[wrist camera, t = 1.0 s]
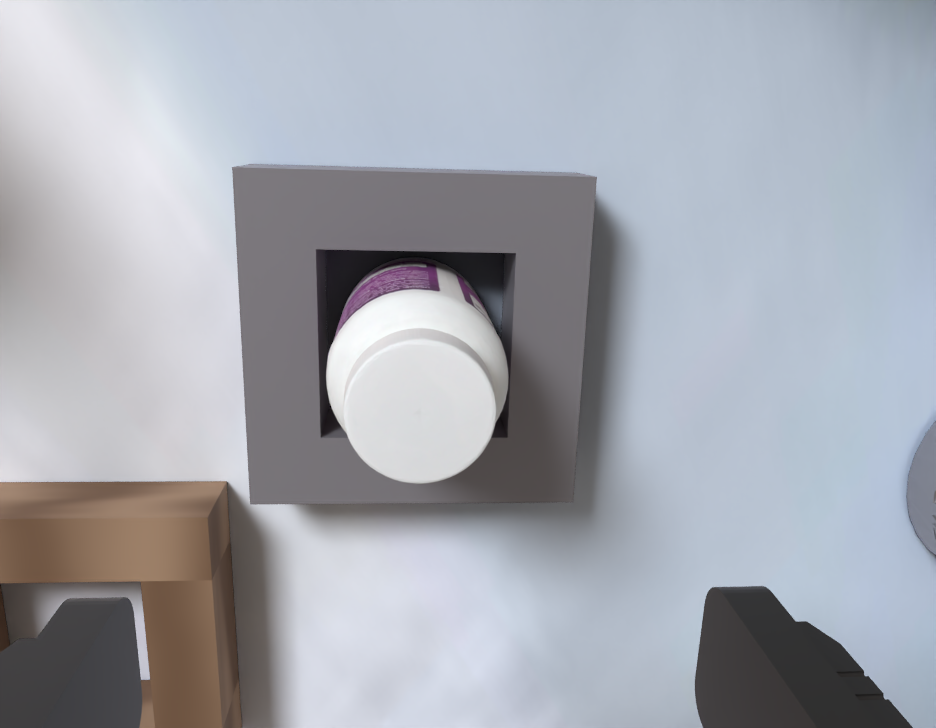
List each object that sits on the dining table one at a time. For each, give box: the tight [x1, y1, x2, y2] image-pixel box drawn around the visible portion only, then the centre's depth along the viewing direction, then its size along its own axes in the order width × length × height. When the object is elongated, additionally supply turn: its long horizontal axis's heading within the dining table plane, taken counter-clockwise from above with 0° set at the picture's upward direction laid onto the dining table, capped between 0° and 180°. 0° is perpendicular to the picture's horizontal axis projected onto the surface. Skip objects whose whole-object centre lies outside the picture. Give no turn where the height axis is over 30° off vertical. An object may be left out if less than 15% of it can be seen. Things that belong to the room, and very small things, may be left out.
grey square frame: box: [232, 164, 597, 504], centre depth 28 cm, size 12×12×3 cm
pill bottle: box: [326, 257, 508, 484], centre depth 25 cm, size 5×5×10 cm
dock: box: [0, 481, 242, 728], centre depth 30 cm, size 12×12×3 cm
